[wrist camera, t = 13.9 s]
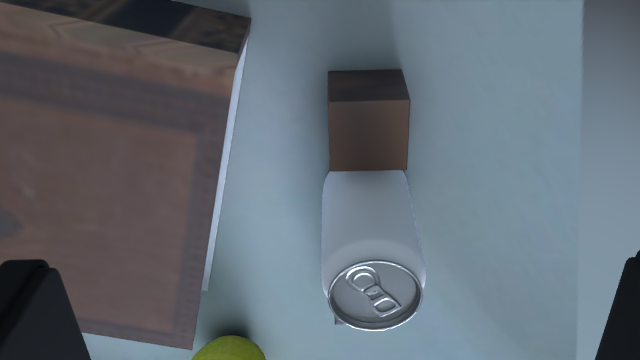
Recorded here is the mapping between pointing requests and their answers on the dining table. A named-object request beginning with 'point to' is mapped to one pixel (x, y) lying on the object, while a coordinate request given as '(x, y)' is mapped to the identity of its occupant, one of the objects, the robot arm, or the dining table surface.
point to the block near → (368, 120)
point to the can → (370, 249)
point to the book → (118, 153)
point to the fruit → (230, 349)
